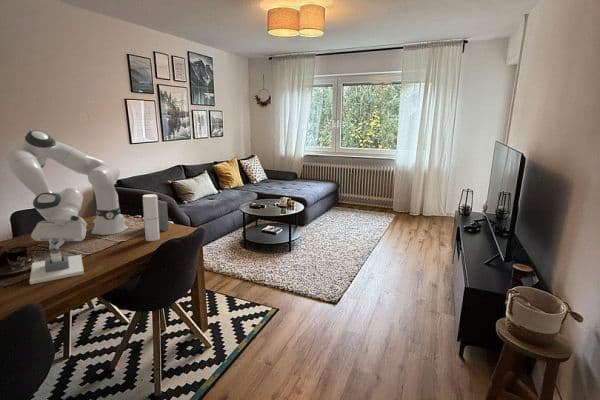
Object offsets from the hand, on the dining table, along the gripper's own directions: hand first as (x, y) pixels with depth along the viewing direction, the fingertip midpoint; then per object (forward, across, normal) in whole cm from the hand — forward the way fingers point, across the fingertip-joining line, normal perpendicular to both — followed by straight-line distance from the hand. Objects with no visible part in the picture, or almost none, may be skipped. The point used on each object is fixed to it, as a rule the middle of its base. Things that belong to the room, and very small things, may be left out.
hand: (53, 249), depth 139 cm
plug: (+5, 0, +7) cm, 9 cm away
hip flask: (-34, +26, +47) cm, 63 cm away
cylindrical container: (-21, +28, +34) cm, 49 cm away
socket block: (+6, 0, +8) cm, 10 cm away
